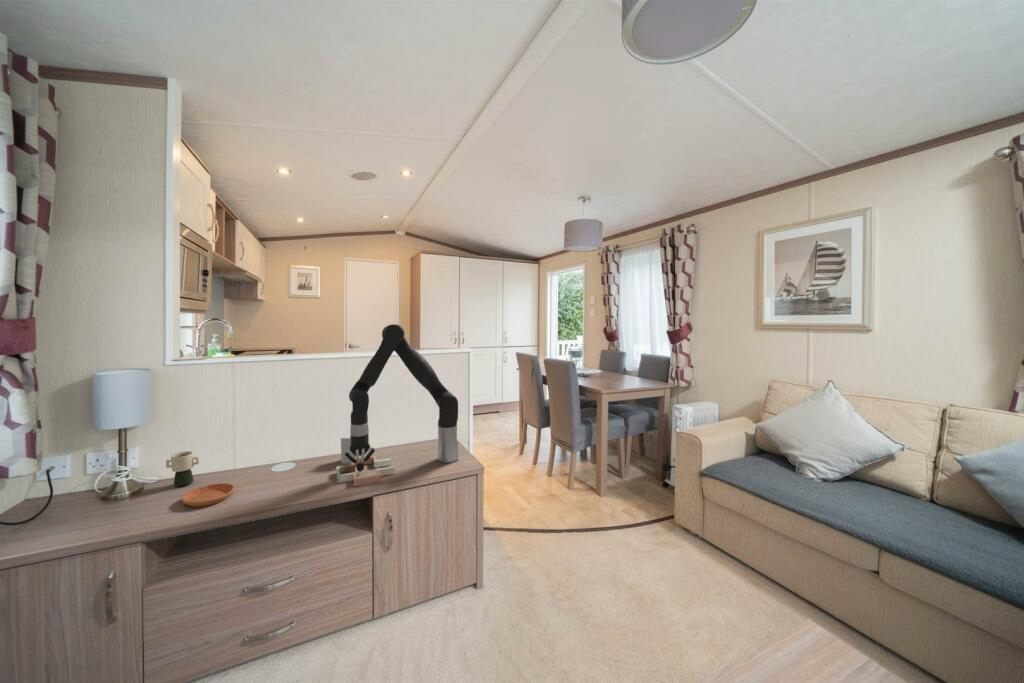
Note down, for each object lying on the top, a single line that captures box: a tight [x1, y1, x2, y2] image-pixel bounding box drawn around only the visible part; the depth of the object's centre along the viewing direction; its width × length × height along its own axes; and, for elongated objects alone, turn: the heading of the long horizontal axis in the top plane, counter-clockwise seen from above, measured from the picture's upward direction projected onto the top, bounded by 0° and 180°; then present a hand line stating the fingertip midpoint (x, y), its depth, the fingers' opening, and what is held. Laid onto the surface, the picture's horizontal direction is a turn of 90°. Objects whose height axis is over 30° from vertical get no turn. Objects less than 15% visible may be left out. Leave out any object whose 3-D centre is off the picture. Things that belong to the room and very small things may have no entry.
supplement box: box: [340, 433, 361, 465], centre depth 186 cm, size 7×7×13 cm
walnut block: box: [339, 463, 356, 475], centre depth 169 cm, size 6×6×4 cm
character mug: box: [165, 450, 200, 487], centre depth 159 cm, size 11×7×13 cm, turn 114°
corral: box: [336, 455, 395, 487], centre depth 173 cm, size 24×24×3 cm
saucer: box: [181, 482, 235, 508], centre depth 148 cm, size 16×16×3 cm
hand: (360, 470), depth 172 cm, fingers closed
